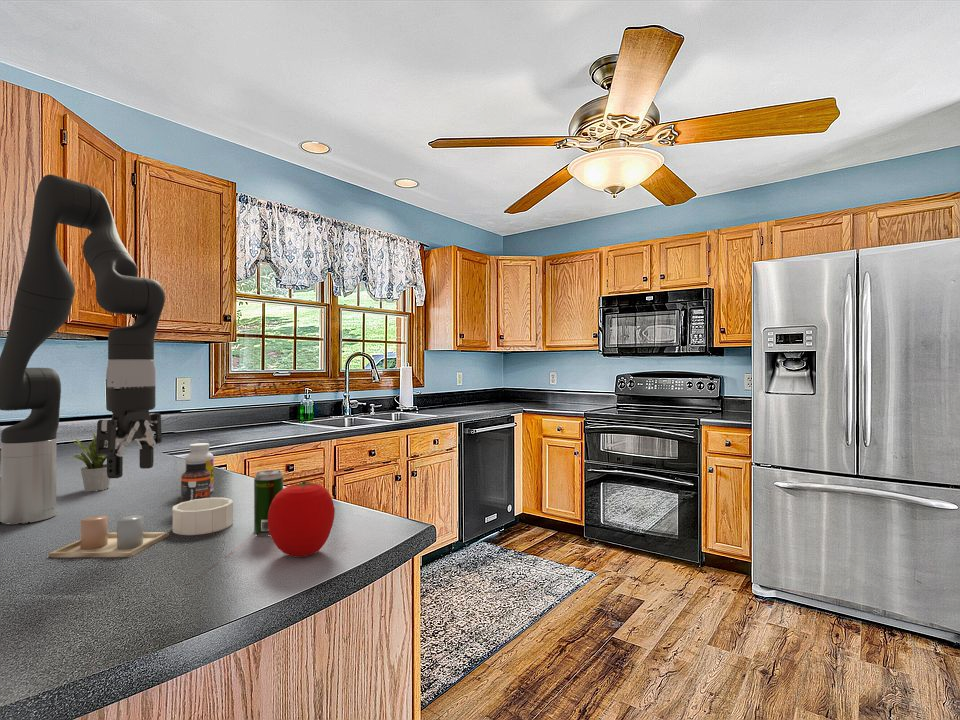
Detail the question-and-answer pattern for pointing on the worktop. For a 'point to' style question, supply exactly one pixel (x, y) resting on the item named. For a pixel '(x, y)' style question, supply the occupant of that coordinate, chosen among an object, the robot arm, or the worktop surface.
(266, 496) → the beer can
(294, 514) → the red round fruit
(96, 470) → the house plant
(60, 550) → the parts tray
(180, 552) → the worktop surface
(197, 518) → the bowl
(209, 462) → the supplement bottle
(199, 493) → the supplement bottle
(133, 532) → the gray metal cylinder
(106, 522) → the beige cylinder
